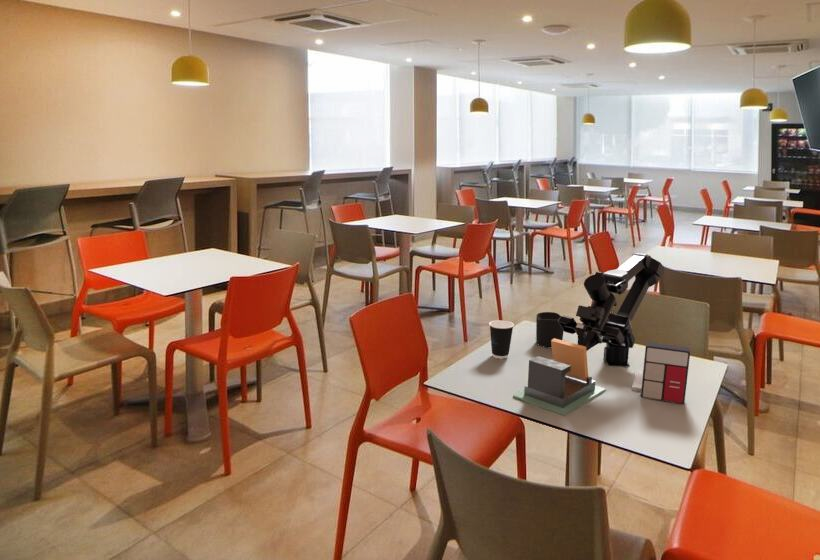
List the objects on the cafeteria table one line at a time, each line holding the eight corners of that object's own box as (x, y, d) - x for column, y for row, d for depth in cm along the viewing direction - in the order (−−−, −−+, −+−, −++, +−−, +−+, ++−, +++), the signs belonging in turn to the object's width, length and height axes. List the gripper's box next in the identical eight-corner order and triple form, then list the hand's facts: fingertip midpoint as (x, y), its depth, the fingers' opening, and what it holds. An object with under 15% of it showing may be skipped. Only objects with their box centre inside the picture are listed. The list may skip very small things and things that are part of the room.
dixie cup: (516, 354, 201) (517, 322, 199) (507, 362, 194) (509, 329, 192) (493, 350, 205) (494, 318, 202) (484, 357, 198) (485, 325, 196)
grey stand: (557, 377, 181) (559, 344, 178) (594, 389, 173) (597, 354, 170) (524, 394, 169) (525, 359, 167) (562, 408, 161) (565, 371, 158)
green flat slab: (555, 375, 184) (555, 373, 184) (605, 390, 173) (605, 388, 173) (512, 397, 169) (513, 395, 169) (564, 415, 158) (564, 413, 158)
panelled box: (640, 398, 168) (645, 346, 165) (641, 392, 172) (646, 341, 169) (684, 405, 164) (690, 352, 160) (684, 399, 168) (690, 347, 164)
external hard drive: (664, 380, 182) (662, 397, 171) (635, 376, 185) (631, 391, 174) (665, 375, 181) (663, 391, 170) (635, 371, 185) (632, 386, 174)
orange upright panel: (557, 370, 178) (553, 338, 174) (588, 380, 171) (586, 346, 167) (554, 373, 177) (551, 340, 173) (585, 383, 170) (583, 349, 166)
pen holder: (565, 341, 214) (567, 314, 211) (559, 350, 206) (561, 321, 203) (538, 337, 218) (540, 310, 215) (532, 346, 209) (533, 317, 207)
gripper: (562, 288, 181) (540, 333, 176) (623, 300, 169) (600, 348, 163) (574, 309, 189) (553, 352, 183) (633, 322, 176) (612, 368, 171)
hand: (578, 354), depth 175 cm, fingers closed
